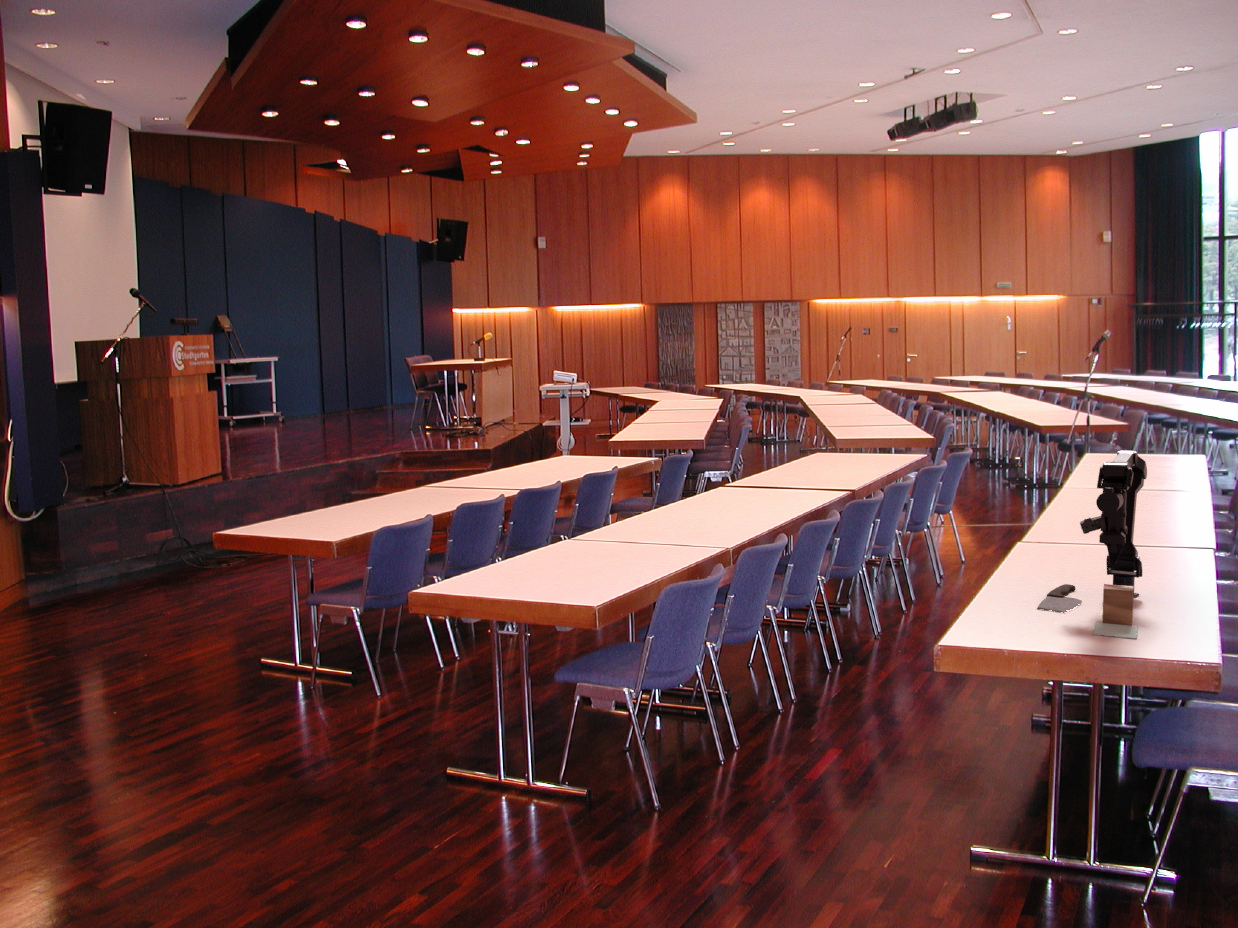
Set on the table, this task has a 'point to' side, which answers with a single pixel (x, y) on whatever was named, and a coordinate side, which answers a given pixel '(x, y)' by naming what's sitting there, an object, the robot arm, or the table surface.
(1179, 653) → the table surface
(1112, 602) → the slab
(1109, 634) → the mat
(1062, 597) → the cleaver
